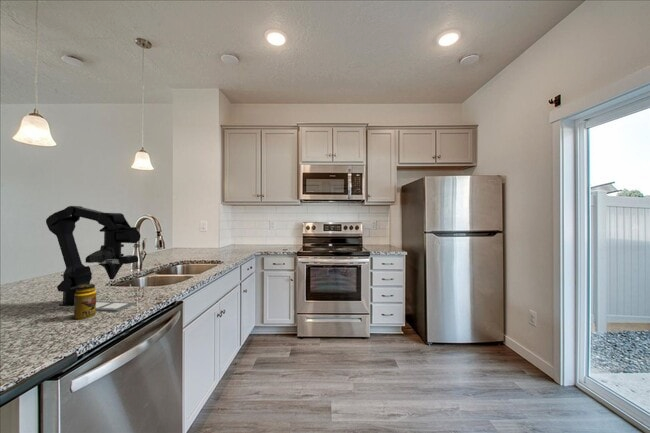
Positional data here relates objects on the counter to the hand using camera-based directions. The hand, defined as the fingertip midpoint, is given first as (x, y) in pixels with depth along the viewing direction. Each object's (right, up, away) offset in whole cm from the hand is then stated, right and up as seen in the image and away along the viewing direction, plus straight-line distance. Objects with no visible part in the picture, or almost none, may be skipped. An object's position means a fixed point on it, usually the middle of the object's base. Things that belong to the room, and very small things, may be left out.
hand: (111, 279), depth 108 cm
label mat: (-1, -11, -1) cm, 11 cm away
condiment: (-1, -11, -13) cm, 17 cm away
